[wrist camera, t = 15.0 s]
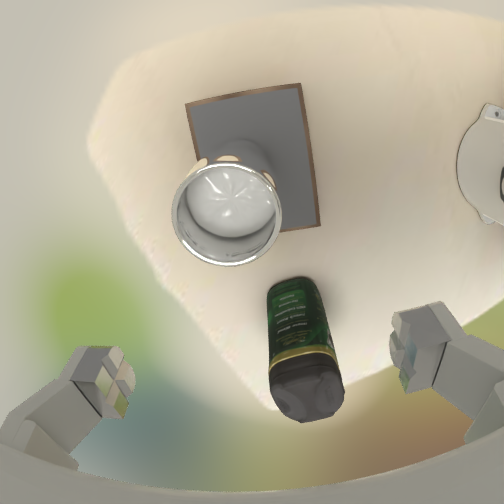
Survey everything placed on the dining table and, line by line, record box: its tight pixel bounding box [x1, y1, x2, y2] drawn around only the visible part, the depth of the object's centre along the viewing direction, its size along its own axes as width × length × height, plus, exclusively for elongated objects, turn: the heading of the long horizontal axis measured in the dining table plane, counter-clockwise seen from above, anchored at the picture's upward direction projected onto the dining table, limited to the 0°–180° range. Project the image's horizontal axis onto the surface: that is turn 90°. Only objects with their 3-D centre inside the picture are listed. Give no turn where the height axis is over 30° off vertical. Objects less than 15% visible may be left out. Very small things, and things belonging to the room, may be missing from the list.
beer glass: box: [172, 139, 282, 267], centre depth 25 cm, size 7×7×15 cm
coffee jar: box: [267, 279, 345, 423], centre depth 37 cm, size 10×8×19 cm
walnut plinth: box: [185, 83, 321, 232], centre depth 34 cm, size 12×16×5 cm
